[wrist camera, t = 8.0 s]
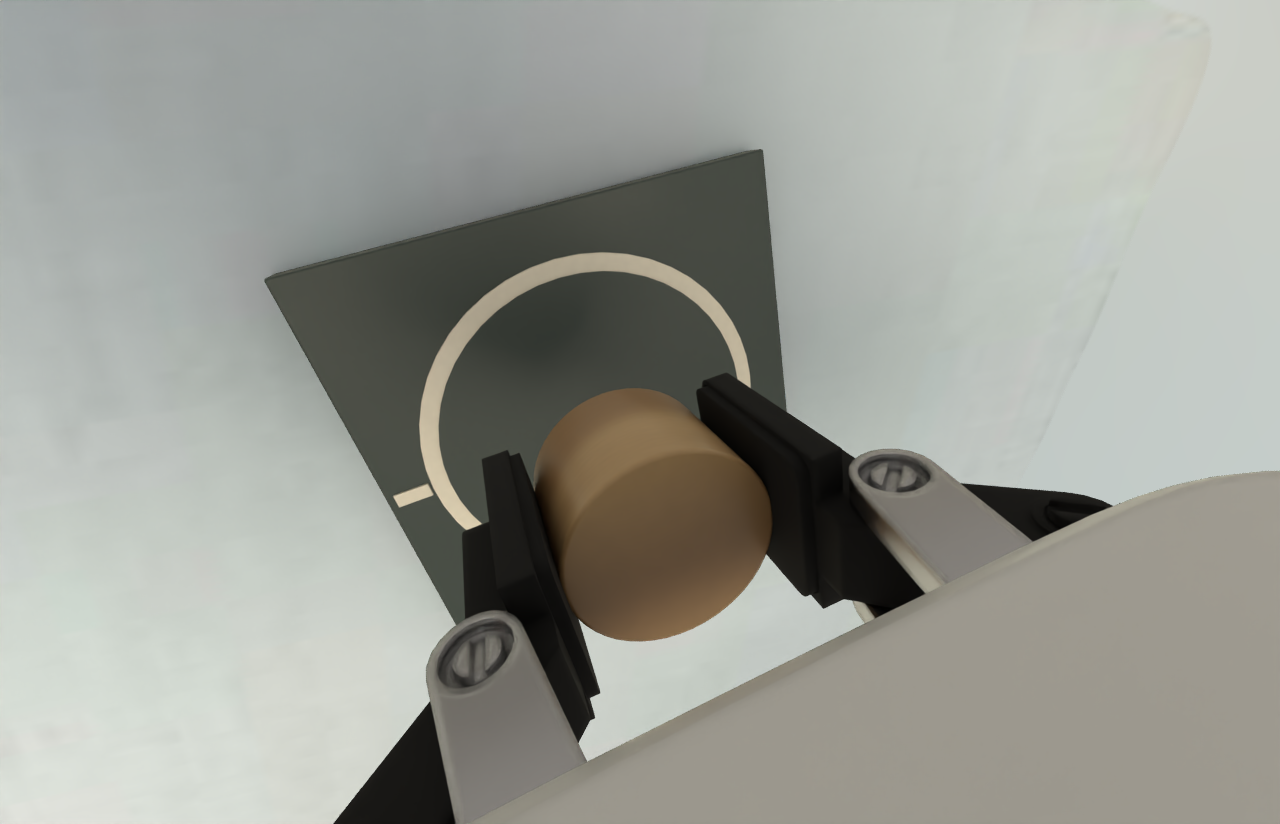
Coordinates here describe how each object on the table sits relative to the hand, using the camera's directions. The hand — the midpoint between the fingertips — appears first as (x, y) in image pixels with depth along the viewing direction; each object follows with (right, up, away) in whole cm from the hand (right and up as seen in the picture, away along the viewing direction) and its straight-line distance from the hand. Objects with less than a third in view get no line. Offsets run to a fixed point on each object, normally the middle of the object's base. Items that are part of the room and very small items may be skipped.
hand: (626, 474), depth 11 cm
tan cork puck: (0, 0, 0) cm, 0 cm away
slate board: (-2, +1, +9) cm, 9 cm away
